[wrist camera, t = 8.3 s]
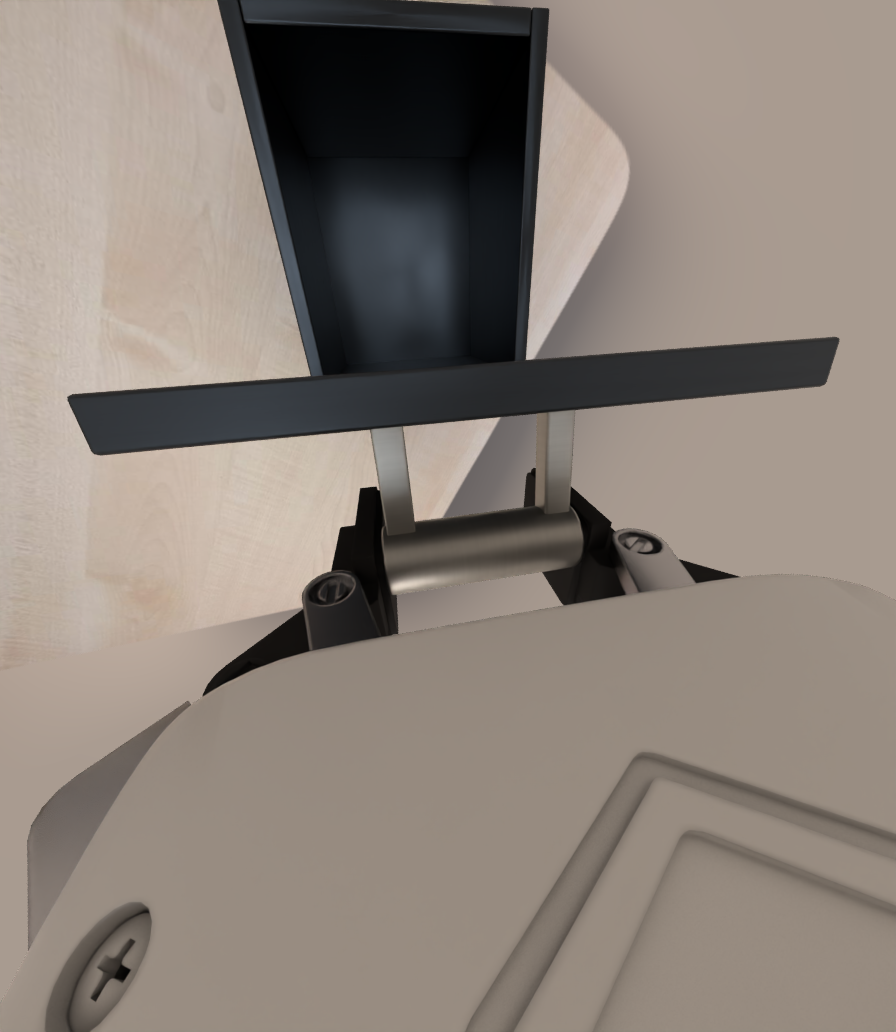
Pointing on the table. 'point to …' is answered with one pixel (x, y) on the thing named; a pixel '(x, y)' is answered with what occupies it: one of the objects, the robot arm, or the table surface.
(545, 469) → the bin lid
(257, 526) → the table surface
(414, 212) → the bin
